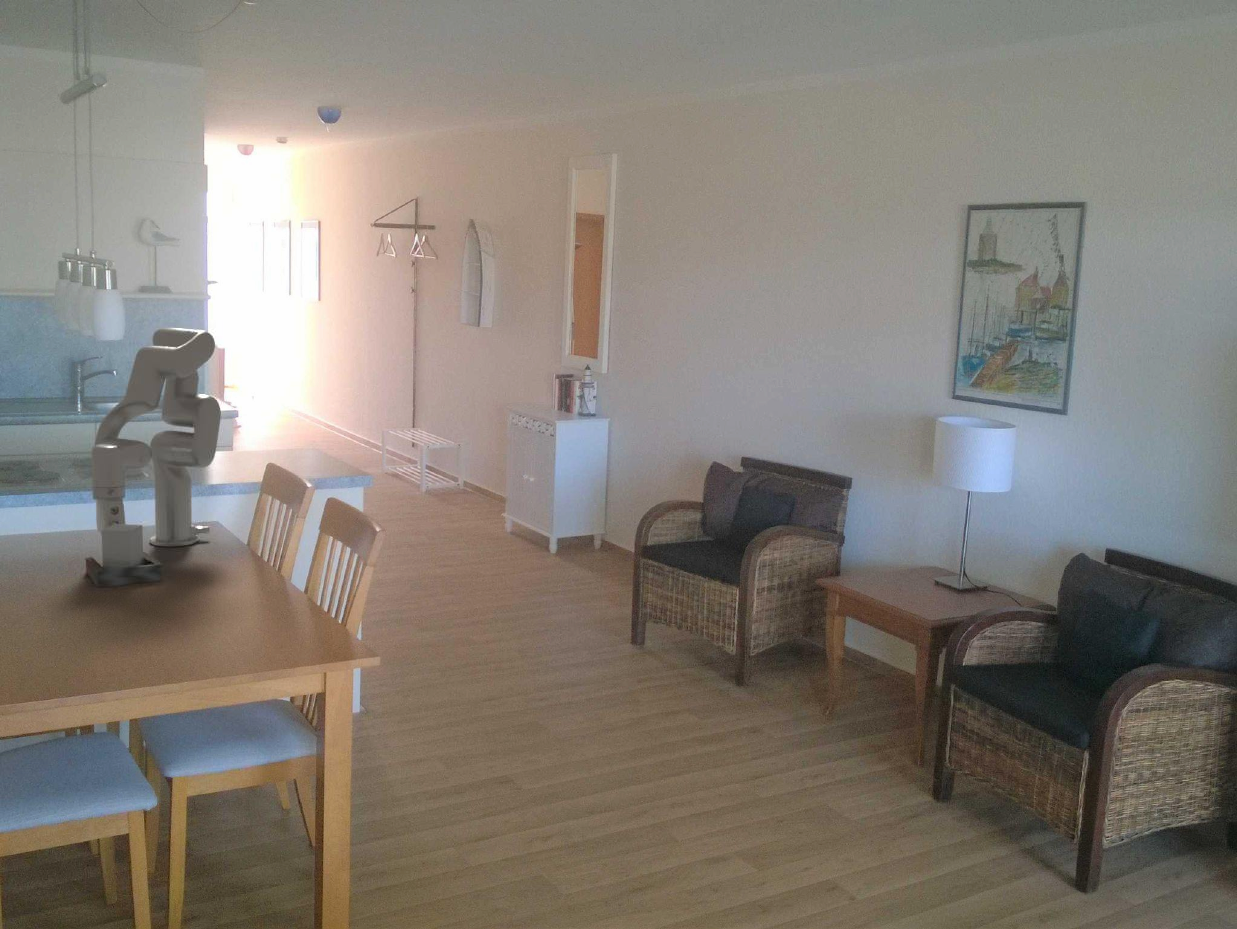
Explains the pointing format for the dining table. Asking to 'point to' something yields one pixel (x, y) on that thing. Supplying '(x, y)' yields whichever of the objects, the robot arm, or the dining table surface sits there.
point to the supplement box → (122, 546)
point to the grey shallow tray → (124, 573)
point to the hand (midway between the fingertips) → (110, 561)
